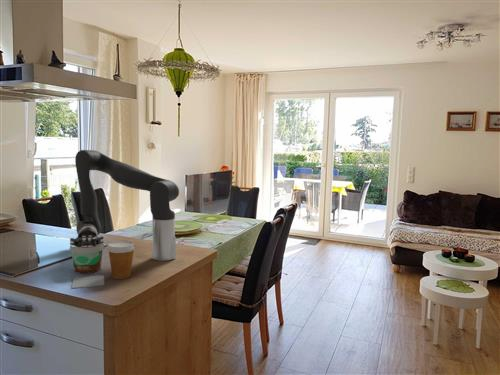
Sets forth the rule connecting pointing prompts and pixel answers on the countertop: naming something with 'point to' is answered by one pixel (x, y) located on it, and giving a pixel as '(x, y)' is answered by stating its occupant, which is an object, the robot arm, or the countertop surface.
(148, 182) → the robot arm
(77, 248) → the food container
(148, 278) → the countertop surface
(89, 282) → the mat
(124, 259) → the disposable coffee cup
